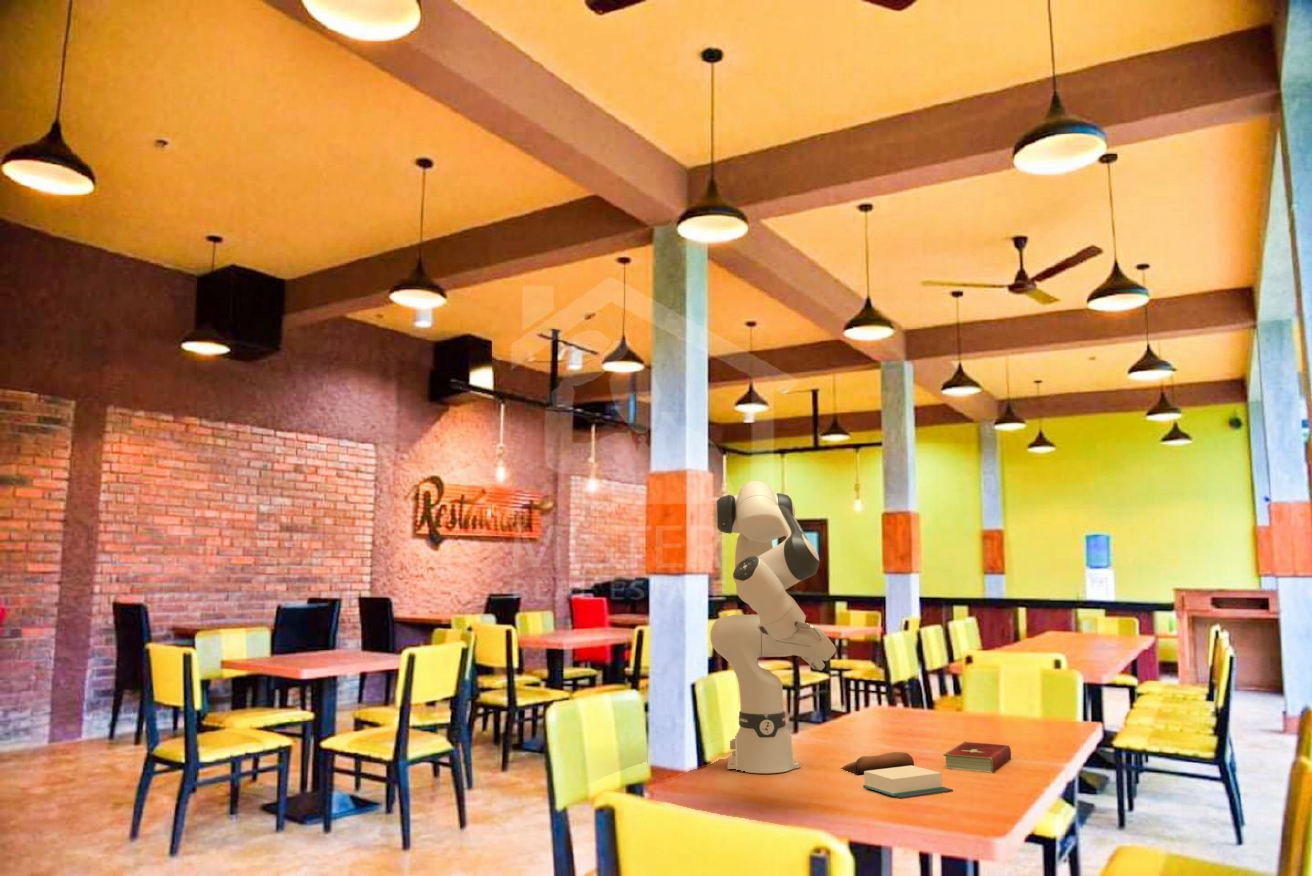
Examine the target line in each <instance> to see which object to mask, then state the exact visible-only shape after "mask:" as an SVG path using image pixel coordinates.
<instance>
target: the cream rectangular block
mask: <svg viewBox="0 0 1312 876" xmlns="http://www.w3.org/2000/svg"><path fill="white" fill-rule="evenodd" d="M863 775H864V776H863V779H864V782H863V783H864V785H865V787H866V789H868V788H870V789H869V790H871V789H873V790H872V791H874V790H876V791H875V792H877V791H879V792H878V793H880V792H882V793H881V794H884V793H885V794H884V795H887V794H889V795H888V796H890V795H892V796H891V797H893V796H896V795H903V794H910V793H918V792H925V791H932V790H940V789H942V787H943V778H942V772H938V771H936V770H932V769H927V768H924V767H920V766H915V765H914V766H912V765H911V766H903V767H893V768H886V769H878V770H869V771H864V773H863ZM865 787H864V788H865Z"/></svg>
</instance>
